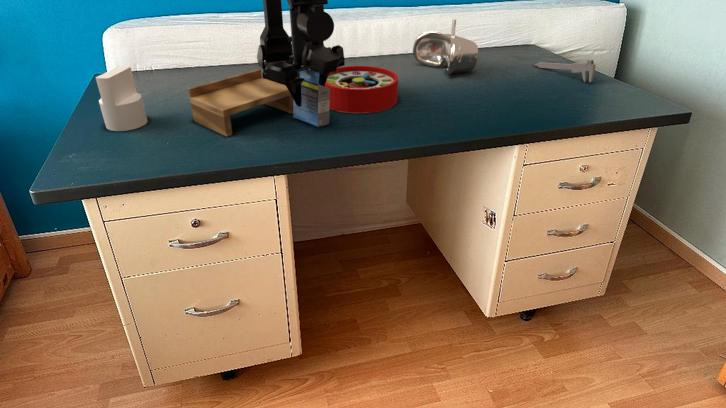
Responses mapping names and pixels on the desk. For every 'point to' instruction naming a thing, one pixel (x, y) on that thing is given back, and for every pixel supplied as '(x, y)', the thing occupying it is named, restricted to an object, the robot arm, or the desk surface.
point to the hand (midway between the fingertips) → (308, 102)
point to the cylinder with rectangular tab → (120, 100)
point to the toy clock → (362, 89)
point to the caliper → (573, 68)
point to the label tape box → (313, 101)
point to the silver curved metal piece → (446, 51)
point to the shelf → (235, 99)
